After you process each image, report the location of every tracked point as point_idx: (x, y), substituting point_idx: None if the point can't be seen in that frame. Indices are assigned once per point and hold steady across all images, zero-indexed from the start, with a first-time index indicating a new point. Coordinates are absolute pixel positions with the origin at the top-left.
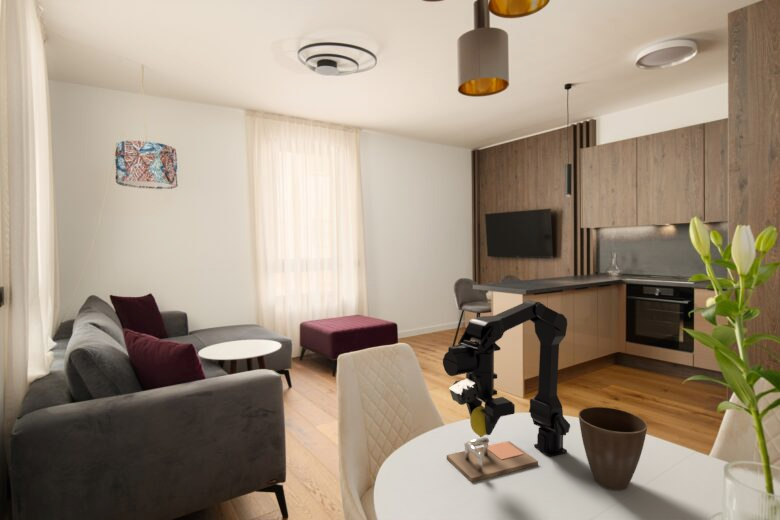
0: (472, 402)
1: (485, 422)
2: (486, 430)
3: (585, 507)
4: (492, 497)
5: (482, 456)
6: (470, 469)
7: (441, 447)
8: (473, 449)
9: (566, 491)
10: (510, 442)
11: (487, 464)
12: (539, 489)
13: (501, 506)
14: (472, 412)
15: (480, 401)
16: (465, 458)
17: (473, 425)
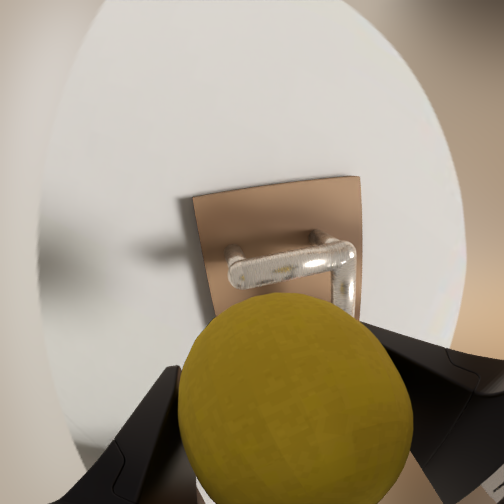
0: (481, 438)
1: (148, 442)
2: (160, 387)
3: (75, 406)
4: (100, 233)
5: (228, 279)
6: (249, 219)
7: (408, 192)
8: (285, 260)
9: (124, 410)
10: None
11: (263, 293)
12: (130, 371)
13: (61, 241)
14: (382, 404)
15: (439, 478)
16: (316, 230)
17: (255, 317)
